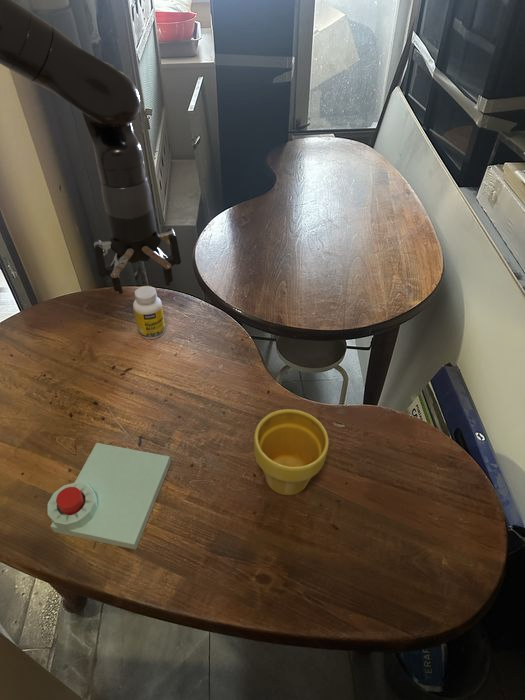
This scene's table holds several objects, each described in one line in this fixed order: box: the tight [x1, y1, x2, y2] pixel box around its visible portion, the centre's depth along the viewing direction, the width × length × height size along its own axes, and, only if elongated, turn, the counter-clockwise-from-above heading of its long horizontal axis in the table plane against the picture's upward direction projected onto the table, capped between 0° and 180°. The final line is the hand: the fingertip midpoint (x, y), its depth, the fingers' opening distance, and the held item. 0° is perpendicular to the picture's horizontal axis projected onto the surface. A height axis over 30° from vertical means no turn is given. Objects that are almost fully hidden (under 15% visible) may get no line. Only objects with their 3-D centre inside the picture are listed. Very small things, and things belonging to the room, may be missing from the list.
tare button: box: [56, 487, 84, 515], centre depth 65 cm, size 3×3×2 cm
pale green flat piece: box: [47, 442, 172, 551], centre depth 69 cm, size 13×14×4 cm
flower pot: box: [253, 408, 330, 496], centre depth 70 cm, size 10×10×10 cm
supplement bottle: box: [132, 285, 166, 340], centre depth 93 cm, size 5×5×10 cm
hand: (144, 287), depth 89 cm, fingers open, 8 cm apart
